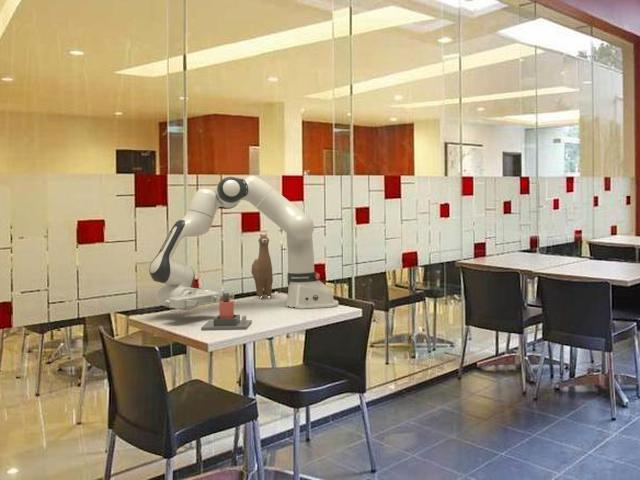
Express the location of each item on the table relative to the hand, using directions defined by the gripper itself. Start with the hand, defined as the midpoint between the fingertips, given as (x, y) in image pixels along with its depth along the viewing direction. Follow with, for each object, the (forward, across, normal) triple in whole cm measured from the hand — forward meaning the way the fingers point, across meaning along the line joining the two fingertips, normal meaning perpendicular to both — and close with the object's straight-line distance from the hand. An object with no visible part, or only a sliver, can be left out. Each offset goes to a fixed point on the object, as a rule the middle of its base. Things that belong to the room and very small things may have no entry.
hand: (207, 301), depth 229 cm
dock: (+11, 0, +8) cm, 14 cm away
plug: (+11, 0, +7) cm, 13 cm away
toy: (-29, +54, +8) cm, 62 cm away
